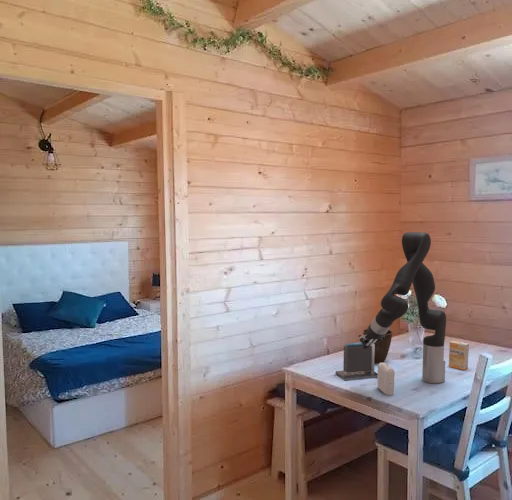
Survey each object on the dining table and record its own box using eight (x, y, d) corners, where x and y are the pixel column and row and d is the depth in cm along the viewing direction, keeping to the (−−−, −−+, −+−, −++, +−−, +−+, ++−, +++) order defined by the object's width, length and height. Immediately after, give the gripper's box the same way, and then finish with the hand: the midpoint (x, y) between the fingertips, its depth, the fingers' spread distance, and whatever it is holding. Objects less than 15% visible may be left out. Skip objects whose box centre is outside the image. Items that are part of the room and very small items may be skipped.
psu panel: (368, 370, 254) (368, 367, 254) (380, 377, 244) (380, 374, 244) (335, 373, 249) (335, 370, 249) (345, 380, 239) (345, 377, 239)
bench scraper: (371, 369, 251) (372, 340, 250) (375, 371, 247) (376, 342, 246) (343, 371, 247) (343, 342, 245) (347, 374, 243) (347, 344, 242)
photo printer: (395, 395, 221) (396, 367, 220) (386, 395, 220) (386, 367, 219) (384, 386, 231) (385, 360, 230) (376, 387, 230) (376, 360, 229)
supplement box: (448, 367, 260) (449, 341, 259) (452, 365, 263) (453, 340, 262) (464, 370, 254) (465, 344, 253) (468, 368, 257) (469, 343, 256)
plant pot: (366, 365, 262) (367, 335, 260) (359, 357, 277) (360, 328, 275) (395, 365, 262) (396, 334, 261) (387, 357, 277) (387, 328, 276)
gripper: (390, 318, 222) (375, 339, 234) (362, 320, 218) (349, 341, 231) (396, 333, 217) (380, 353, 230) (368, 335, 213) (354, 355, 226)
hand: (364, 347), depth 230 cm, fingers closed
